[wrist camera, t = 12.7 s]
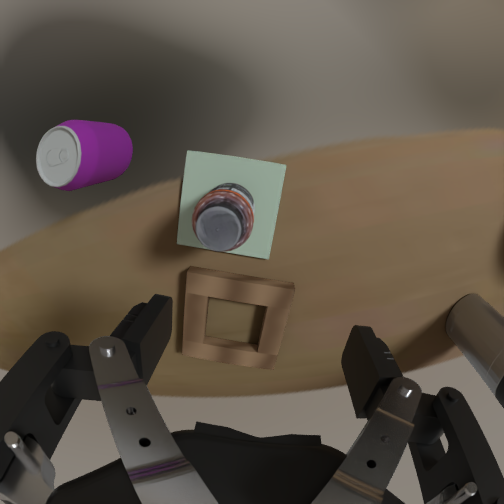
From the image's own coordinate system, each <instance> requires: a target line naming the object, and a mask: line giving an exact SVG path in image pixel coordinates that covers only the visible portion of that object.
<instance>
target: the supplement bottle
mask: <svg viewBox="0 0 504 504" xmlns="http://www.w3.org/2000/svg"><path fill="white" fill-rule="evenodd" d="M254 212H255V205H254V200H253V197H252V195H251V194H250V192H249V191H248V190H247V189H246V188H244V187H243V186H241V185H239V184H236V183H224V184H221V185H218V186H216V187H215V188H214V189H212V190H211V191H210V192H209V193H207V194H206V195H205V196H204V197H202V198H201V199H200V200H199V202H198V203H197V205H196V206H195V208H194V211H193V214H192V227H193V231H194V233H195V235H196V237H197V238H198V240H199V241H200V242H201V244H202V245H203V246H205V247H206V248H208V249H210V250H213V251H222V252H227V251H232V250H235V249H237V248H238V247H240V246H241V245H243V244H244V243H245V242H246V241H247V240H248V238H249V237H250V235H251V232H252V229H253V223H254Z"/></svg>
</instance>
